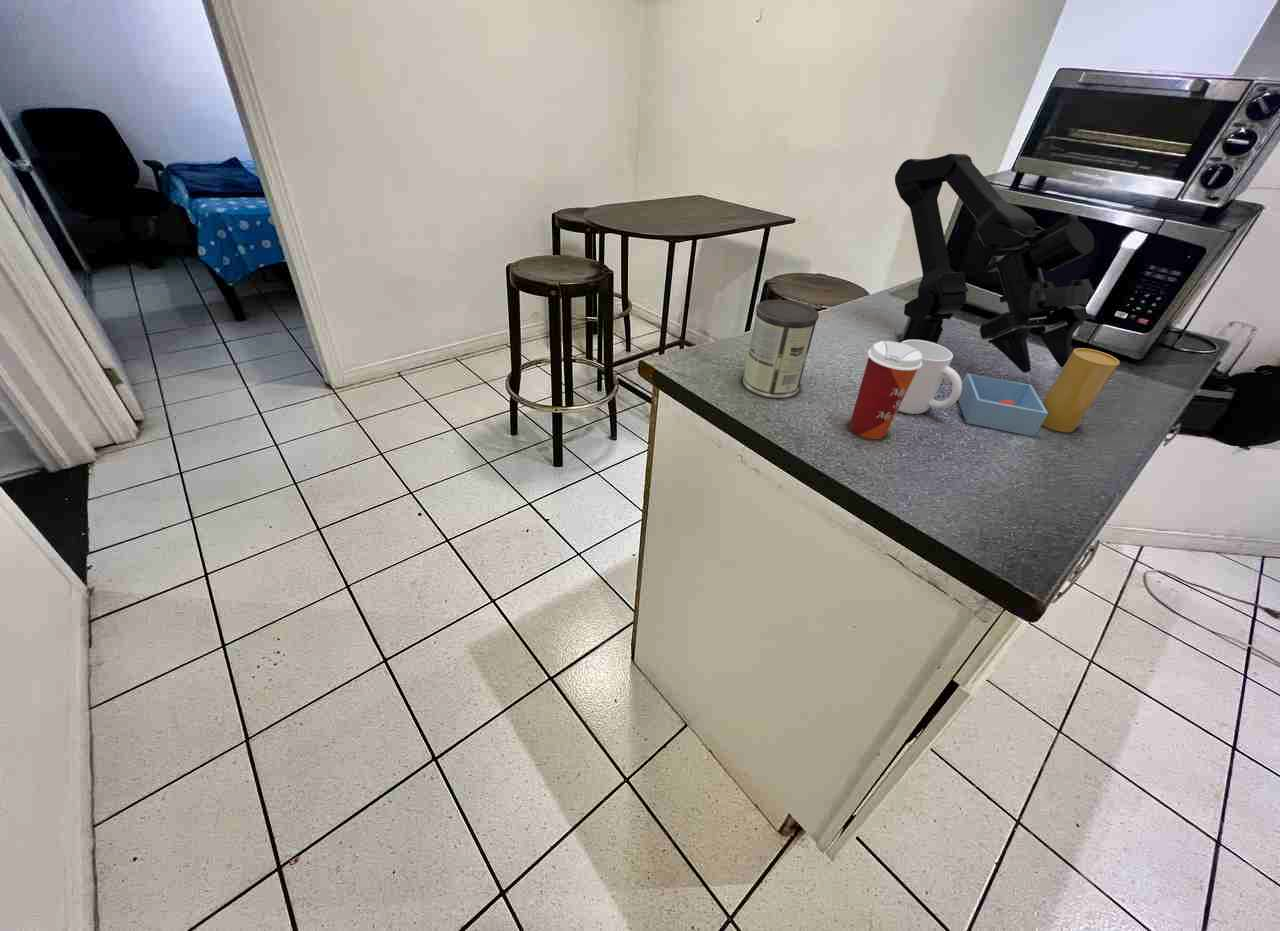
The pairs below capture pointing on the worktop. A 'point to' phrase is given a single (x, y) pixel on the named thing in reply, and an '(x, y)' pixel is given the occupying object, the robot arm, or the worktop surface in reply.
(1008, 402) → the toy ball
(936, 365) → the mug
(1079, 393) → the tall tapered cup
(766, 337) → the coffee can
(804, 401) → the worktop surface
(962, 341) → the worktop surface
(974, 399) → the bin
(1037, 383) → the worktop surface
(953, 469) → the worktop surface
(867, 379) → the paper cup
